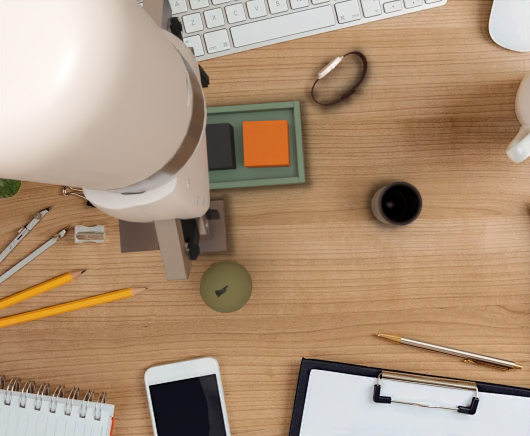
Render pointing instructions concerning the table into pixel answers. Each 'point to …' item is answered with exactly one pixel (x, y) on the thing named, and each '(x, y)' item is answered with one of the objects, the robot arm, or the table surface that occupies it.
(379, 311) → the table surface
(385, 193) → the planter
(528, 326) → the table surface
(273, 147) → the orange block
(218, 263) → the green pear
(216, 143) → the pad
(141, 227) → the stand
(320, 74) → the watch
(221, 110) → the holder
